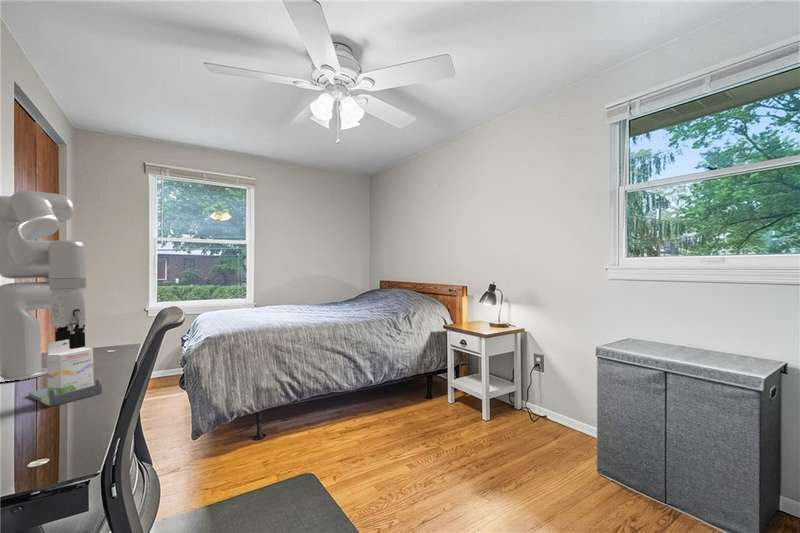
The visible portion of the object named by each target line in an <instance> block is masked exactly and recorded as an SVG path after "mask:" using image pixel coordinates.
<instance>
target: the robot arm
mask: <svg viewBox="0 0 800 533" xmlns="http://www.w3.org/2000/svg"><path fill="white" fill-rule="evenodd" d="M74 211H75V207H74V204H73V201H72V200H71V199H70V198H69V197H68V196H67V195H64V194H59V193H53V192H45V191H36V190H21V191H17V192H15V193H13V194H12V195H11V196H9V195H0V276H1V277H2V278H5V279H12V280H13V279H14V280H15V279H17V280H19V279H20V280H21V279H44V281H28V282H27V281H25V282H24V281H23V282H22V281H21V282H10V283H9V282H8V283H4V284H1V285H0V376H1V377H2V378H4V380H10V381H13V380H20V381H24V380H25V379H26V380H29V379H28V378H30V379H34V377H35V378H38V377H41V376H44V375H47V367H42V345H41V344H42V342H41V341H42V340H41V323H40V321H39V319H38V318H37V317H36V316H34V315H33V314H31V313H30V312H31V311H35V310H46V309H50V313H49V314H50V318H49V319H50V320H49V321H50V325H51V326H53V327H54V337H55V338H54V340H55V341H54V342H58V341H63V340H68V339H69V343H68V344H66V343H64V344H63V346H64V345H68V346H69V348H70V349H75V348H86V328H85V327H86V324H85V323H86V302H85V295H84V294H85V293H84V290H87V278H86V277H87V273H86V272H87V270H86V246H85V244H84V242H82V241H79V240H67V239H66V240H65V239H64V240H63V239H62V240H40V239H43V238H46V237H49V236H52V235H54V234H55V233H56V232H58V230H59V229H60V223H64V222H67V221H69V220H70V219H71V218H72V217H73V215H74ZM26 380H25V381H26Z"/></svg>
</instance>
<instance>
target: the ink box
mask: <svg viewBox="0 0 800 533" xmlns="http://www.w3.org/2000/svg"><path fill="white" fill-rule="evenodd" d="M64 343H66V344H64ZM68 343H69V339H68V340H63V341H58V342H55V341H52V342H48V344H47V355H46V369H47V373H46V376H47V377H46V380H47V381H46V384H47V386H46V388H48V389H47V391H48V398H49V396H50V390H56V395H57V394H61V393H65V392H69V391H73V390H77V389H81V388H85V387H90V386H94V348H93V347H81V348H75V349H70V348H69V344H68ZM63 344H64V345H66V346H64V345H63ZM62 345H63V346H62ZM60 346H61V347H60Z"/></svg>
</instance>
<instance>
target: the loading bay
mask: <svg viewBox="0 0 800 533" xmlns="http://www.w3.org/2000/svg"><path fill="white" fill-rule="evenodd" d="M94 383H95V384H93V386H90V387H85V388H81V389H77V390H73V391H69V392H65V393H61V394H57V395H56V390H50V396H49V398H48V391H47V389H48V388H47V387H45V388H42V389H37V390H33V391H29V392H27V394H28V395H27V396H28V397H29V398H32V399H34V400H36V401H38V402H41V403H42V404H44V405H46V406H49V407H56V406H59V405H62V404H67V403H70V402H73V401H77V400H81V399H85V398H89V397H93V396H96V395H101V394H102V393H103V387H102V386H103V384H102V379H101V378H97V379H95V382H94ZM100 393H101V394H100Z"/></svg>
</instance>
